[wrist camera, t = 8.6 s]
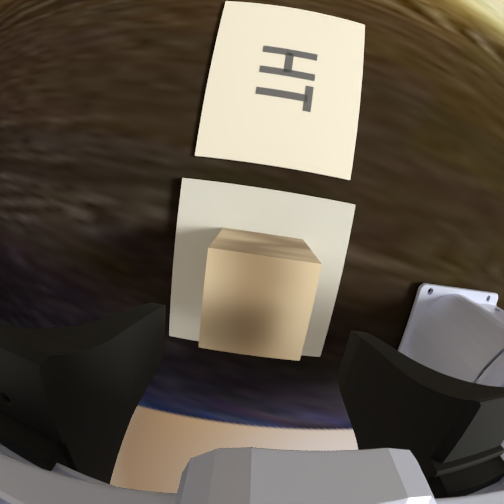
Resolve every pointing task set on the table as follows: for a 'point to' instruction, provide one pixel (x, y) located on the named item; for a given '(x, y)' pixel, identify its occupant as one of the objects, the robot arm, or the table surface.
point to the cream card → (283, 89)
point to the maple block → (258, 294)
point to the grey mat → (262, 221)
